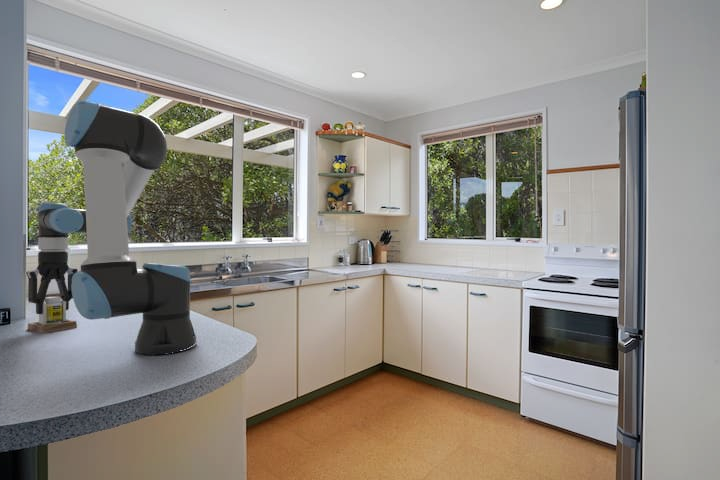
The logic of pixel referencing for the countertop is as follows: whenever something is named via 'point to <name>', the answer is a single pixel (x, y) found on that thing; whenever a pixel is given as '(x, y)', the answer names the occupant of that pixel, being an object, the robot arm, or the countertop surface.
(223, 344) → the countertop surface
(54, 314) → the supplement bottle
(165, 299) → the robot arm
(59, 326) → the dock board
